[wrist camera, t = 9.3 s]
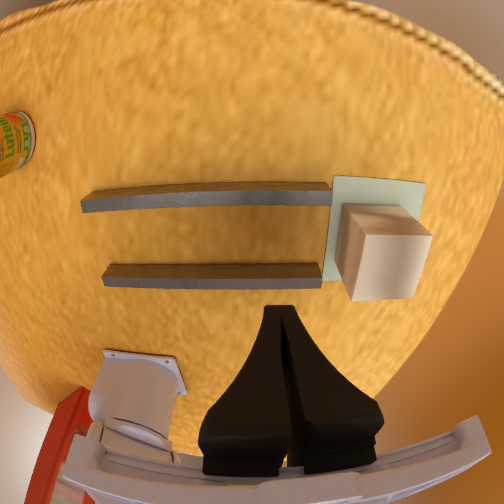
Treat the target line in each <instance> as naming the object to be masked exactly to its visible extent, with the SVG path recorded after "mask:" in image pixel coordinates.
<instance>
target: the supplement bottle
mask: <svg viewBox="0 0 504 504" xmlns="http://www.w3.org/2000/svg"><path fill="white" fill-rule="evenodd" d="M34 144H35V132H34V127H33V124H32V122H31V120H30V118H29V117H28V116H27V115H26V114H25V113H23V112H19V111H17V112H11V113H7V114H3V115H0V178H2V177H3V176H5V175H7V174H9V173H11V172H13V171H15V170H17V169H19V168H21V167H23V166H24V165H25V164H26V163H27V162H28V161H29V159H30V158H31V155H32V153H33V149H34Z"/></svg>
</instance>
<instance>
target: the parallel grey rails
mask: <svg viewBox="0 0 504 504" xmlns="http://www.w3.org/2000/svg"><path fill="white" fill-rule="evenodd" d="M332 200H333V191H332V189H331V188H330V187H329V186H328V184H327V183H317V182H218V183H193V184H175V185H159V186H146V187H134V188H124V189H114V190H104V191H96V192H92V193H90V194H89V195H88V196H86V197H85V198H83V199H82V200H81V201H80V202H81V207H82V211H83V213H90V212H103V211H116V210H131V209H148V208H167V207H192V206H229V205H317V206H332ZM322 279H323V277H322V274H321V271H320V268H319V266H318V264H110V265H109V267H108V268H107V270H106V271H105V272H104V274H103V275H102V280H103V283H104V286H109V287H132V288H163V289H310V288H321V285H322Z"/></svg>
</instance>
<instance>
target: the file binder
mask: <svg viewBox="0 0 504 504" xmlns="http://www.w3.org/2000/svg"><path fill="white" fill-rule="evenodd" d="M89 395H90V391H89V390H87V389H86V388H84V387H81V388H80V389H79V390H77V391H76V392H75V393H73V394H72V395H71V396H69V397H68V398H67V399H65V400H64V401H62V402H61V403H60V404H58V407H57V409H56V411H55V414H54V416H53V419H52V421H51V423H50V426H49V428H48V431H47V434H46V436H45V439H44V441H43V444H42V447H41V450H40V453H39V455H38V458H37V461H36V465H35V468H34V471H33V474H32V477H31V480H30V484H29V487H28V491H27V494H26V498H25V502H24V504H95V501H94V500H93V499H92V498H91V497H90V495H89V494H88V493H87V492H86V491H85V489H84V488H82V487H80V486H78V485H76V484H74V483H72V482H70V481H69V480H67V479H65V478H63V477H62V474H63V470H64V467H65V463H66V460H67V456H68V453H69V450H70V447H71V444H72V441H73V438H74V435H75V434H79V435H82V436H85V437H86V435H87V433H88V430H89V428H90V425H91V423H92V422H94V421H93V420H92V418H91V416H90V413H89V408H88V401H89Z"/></svg>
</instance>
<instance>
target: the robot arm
mask: <svg viewBox="0 0 504 504" xmlns="http://www.w3.org/2000/svg"><path fill="white" fill-rule="evenodd" d="M103 354H104V356H105V358H104V360H103V362H102V365H101V367H100V369H99V372H98V374H97V376H96V379H95V381H94V384H93V386H92V389H91V391H90V395H89V401H88V408H89V413H90V416H91V418H92V420H93V421H94V422H92V423H91V425H90V428H89V430H88V433H87V435H86V437H85V436H82V435H79V434H75V435H74V438H73V441H72V444H71V447H70V450H69V453H68V456H67V460H66V463H65V467H64V470H63V474H62V477H63V478H65V479H67V480H69V481H70V482H72V483H74V484H76V485H78V486H80V487H82V488H84V489H85V491H86V492H87V493H88V494H89V495H90V497H91V498H92V499H93V500H94V501H95V502H96V504H388V502H391V501H394V500H397V499H400V498H403V497H406V496H408V495H411V494H414V493H417V492H419V491H421V490H424V489H426V488H429V487H431V486H433V485H436V484H438V483H440V482H442V481H445V480H446V479H449V478H451V477H453V476H455V475H457V474H459V473H461V472H463V471H464V470H466V469H468V468H469V467H471V466H473V465H474V464H476V463H477V462H479V461H480V460H482V459H483V458H485V457H486V456H487V455H489V454H490V453H491V449H490V446H489V443H488V440H487V438H486V435H485V432H484V430H483V427H482V425H481V422H480V420H479V417H478V415H476V416H473V417H471V418H469V419H467V420H464V421H462V422H461V423H459V424H458V425H456V426H455V427H454V428H453V429H452V430H451V431H449V432H446V433H444V434H441V435H439V436H436V437H433V438H430V439H428V440H425V441H422V442H419V443H415V444H412V445H409V446H406V447H402V448H399V449H395V450H392V451H388V452H384V453H380V454H376V453H375V449H374V445H375V444H376V441H375V437H374V436H375V435H376V434H377V432H378V431H379V430H380V429H381V428H382V426H383V424H384V418H383V415H382V412H381V410H380V408H379V405H378V404H377V401H375V400H374V399H372V398H371V397H369V396H368V395H366V394H365V393H363V392H362V391H361V390H359V389H358V388H357V387H355V386H354V385H353V384H352V383H351V382H350V381H348V380H347V379H346V378H345V377H344V376H343V375H342V374H341V373H340V372H339V371H338V370H337V369H336V368H335V367H334V366H333V365H332V364H331V363H330V362H329V361H328V359H327V358H326V357H325V356H324V355H323V353H322V352H321V351H320V349H319V348H318V347H317V345H316V344H315V343H314V341H313V340H312V338H311V337H310V335H309V334H308V332H307V330H306V329H305V327H304V325H303V324H302V322H301V320H300V318H299V316H298V314H297V312H296V310H295V307H294V306H293V305H266V306H265V307H264V314H263V319H262V323H261V327H260V330H259V333H258V336H257V338H256V341H255V343H254V345H253V348H252V350H251V352H250V354H249V356H248V358H247V360H246V362H245V363H244V365H243V367H242V369H241V370H240V372H239V373H238V375H237V376H236V378H235V379H234V381H233V382H232V383H231V385H230V386H229V387H228V389H227V390H226V391H225V392H224V394H223V395H222V396H221V397H220V398H219V399H218V400H217V402H216V403H215V404H214V405H213V406H212V407H211V408H210V409H209V410H208V412H207V414H206V416H205V418H204V420H203V422H202V425H201V428H200V432H199V439H198V446H199V448H200V449H201V451H202V453H203V455H204V457H203V466H199V465H189V464H181V462H180V459H179V457H178V454H177V452H176V451H175V450H173V449H172V444H173V442H171V441H168V436H169V431H170V425H171V420H172V415H173V410H174V404H175V399H176V395H187V390H186V387H185V385H184V382H183V379H182V376H181V373H180V370H179V368H178V365H177V362H176V359H175V358H173V357H165V356H154V355H144V354H135V353H127V352H119V351H112V350H104V351H103ZM286 454H287V467H284V468H281V466H282V464H283V460H284V457H286ZM227 484H238V485H236V486H228V485H227Z"/></svg>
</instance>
